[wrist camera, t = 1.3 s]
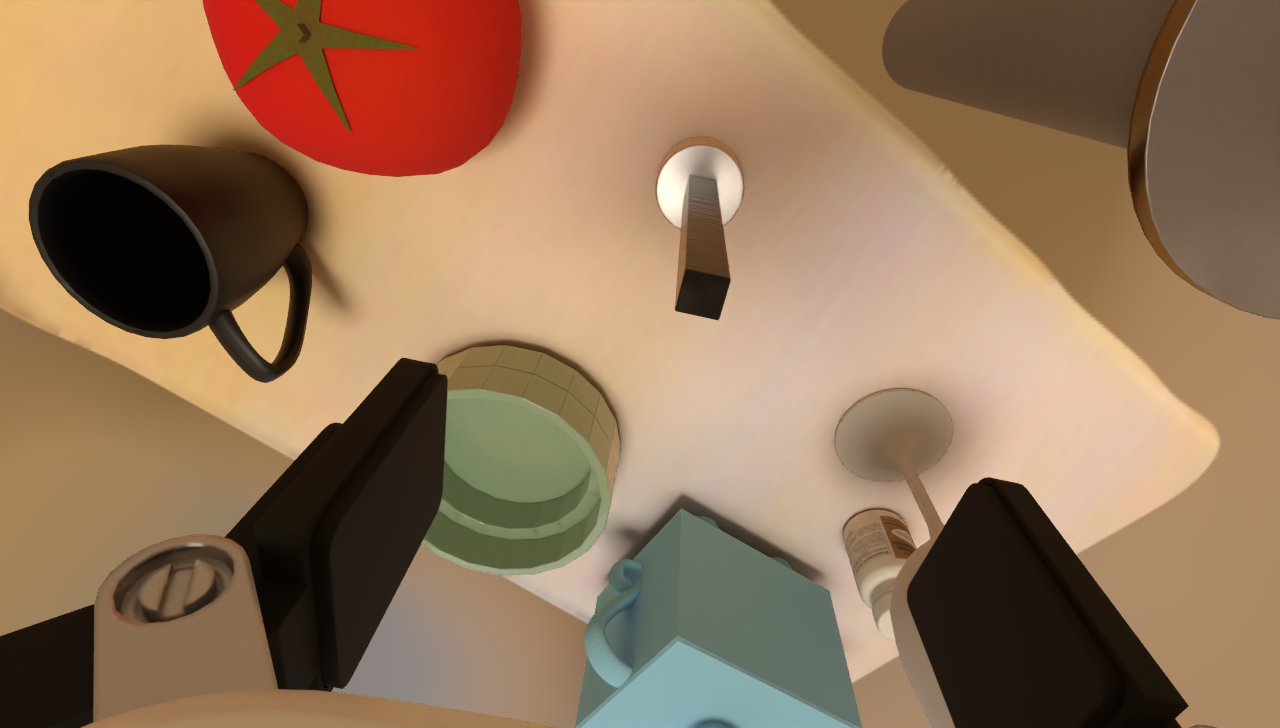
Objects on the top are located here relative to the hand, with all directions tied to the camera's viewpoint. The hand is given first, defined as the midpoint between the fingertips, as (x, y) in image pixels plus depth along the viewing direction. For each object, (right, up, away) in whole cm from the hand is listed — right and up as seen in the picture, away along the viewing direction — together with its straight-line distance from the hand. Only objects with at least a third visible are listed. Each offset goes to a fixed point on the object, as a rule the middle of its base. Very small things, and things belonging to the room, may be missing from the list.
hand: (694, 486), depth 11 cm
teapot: (+6, -15, +36) cm, 39 cm away
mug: (-22, +10, +25) cm, 35 cm away
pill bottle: (+16, -10, +32) cm, 37 cm away
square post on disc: (+2, +12, +21) cm, 25 cm away
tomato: (-12, +19, +19) cm, 29 cm away
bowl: (-9, -3, +30) cm, 32 cm away
